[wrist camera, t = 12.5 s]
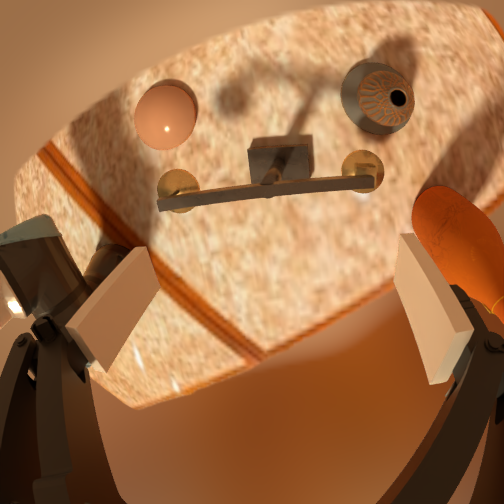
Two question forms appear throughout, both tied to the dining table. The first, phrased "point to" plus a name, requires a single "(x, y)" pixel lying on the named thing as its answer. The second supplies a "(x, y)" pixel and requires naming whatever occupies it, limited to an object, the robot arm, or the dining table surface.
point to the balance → (271, 178)
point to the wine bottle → (462, 245)
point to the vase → (385, 98)
